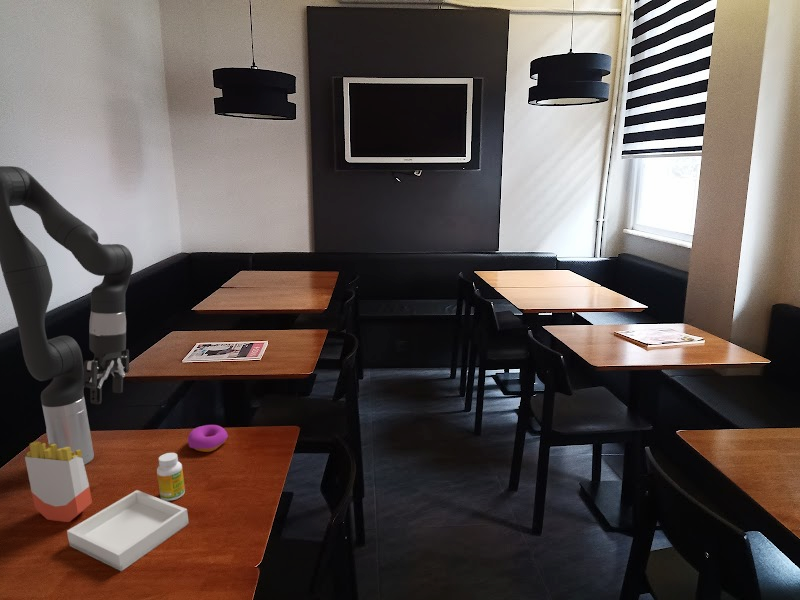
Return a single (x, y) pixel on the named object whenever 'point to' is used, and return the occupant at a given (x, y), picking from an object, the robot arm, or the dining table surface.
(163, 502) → the tray
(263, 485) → the dining table surface
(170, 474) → the supplement bottle
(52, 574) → the dining table surface
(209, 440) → the donut
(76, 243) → the robot arm
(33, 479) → the french fries container
